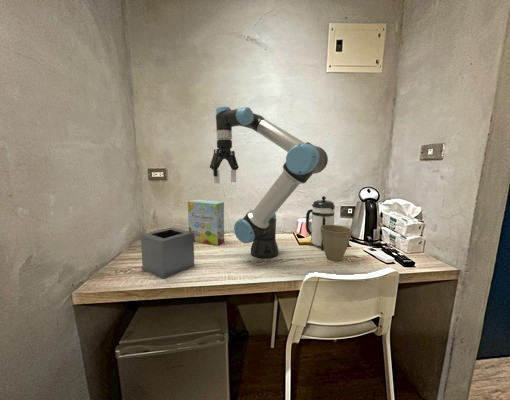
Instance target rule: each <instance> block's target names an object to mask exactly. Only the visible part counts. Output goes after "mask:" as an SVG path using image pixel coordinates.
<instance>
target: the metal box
mask: <svg viewBox="0 0 510 400" xmlns="http://www.w3.org/2000/svg"><path fill="white" fill-rule="evenodd" d="M140 247H141V261H142V264H141V265H142V270H144V271H146V272H148V273H150V274H152V275H153V276H156V277H158V278H161V279H162V280H165V279H168V278H170V277H171V276H174V275H177V274H179V273H181V272H184V271H186V270H188V269H190V268H192V267H194V266H195V242H194V235H193V232H189V230H185V229H184V230H183V229H180V228H176V227H168V228H164V229H159V230H156V231H155V230H154V231H151V232H146V233H143V234H140Z"/></svg>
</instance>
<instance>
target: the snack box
mask: <svg viewBox="0 0 510 400" xmlns="http://www.w3.org/2000/svg"><path fill="white" fill-rule="evenodd" d="M187 218H188V221H187V222H188V223H187V224H188V231H189V232H193V235H194V243H201V244H206V245H212V246H217V247H218V246H220V245H221V244H223V243H225V201H216V200H209V199H208V200H207V199H192V200H191V199H190V200H188V201H187Z"/></svg>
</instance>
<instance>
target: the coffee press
mask: <svg viewBox="0 0 510 400" xmlns="http://www.w3.org/2000/svg"><path fill="white" fill-rule="evenodd" d="M311 206H312V209H308V210H307V212H306V215H305V229H306V232H307V233H308V234H309V235H310V241H309V242H308V244H311V245H310V246H312V245H314V246H317V247H320V250H321V251H324V247H323V243H322V237H321V226H323V225H334V224H335V210H336V208H335V207H336V205H335V203H334V202H333V201H331V200H327V197H326V196H325V195H324V196H322V197H321V199H319V200H315V201H313V203H312V204H311ZM310 214H311V229H310Z"/></svg>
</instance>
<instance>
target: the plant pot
mask: <svg viewBox="0 0 510 400" xmlns="http://www.w3.org/2000/svg"><path fill="white" fill-rule="evenodd" d="M352 231H353V229H351V228H349V227H347V226H342V225H337V224H335V225H323V226H321V237H322V243H323V247H324V250H323V251H324V254H325V258H326V259H327V260H328V261H332V262H340V261H342V260H343V257H344V255H345V253H346V252H347V250H348V249H347V248H348V246H349V244H350V241H351V240H350V239H351V236H352Z"/></svg>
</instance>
